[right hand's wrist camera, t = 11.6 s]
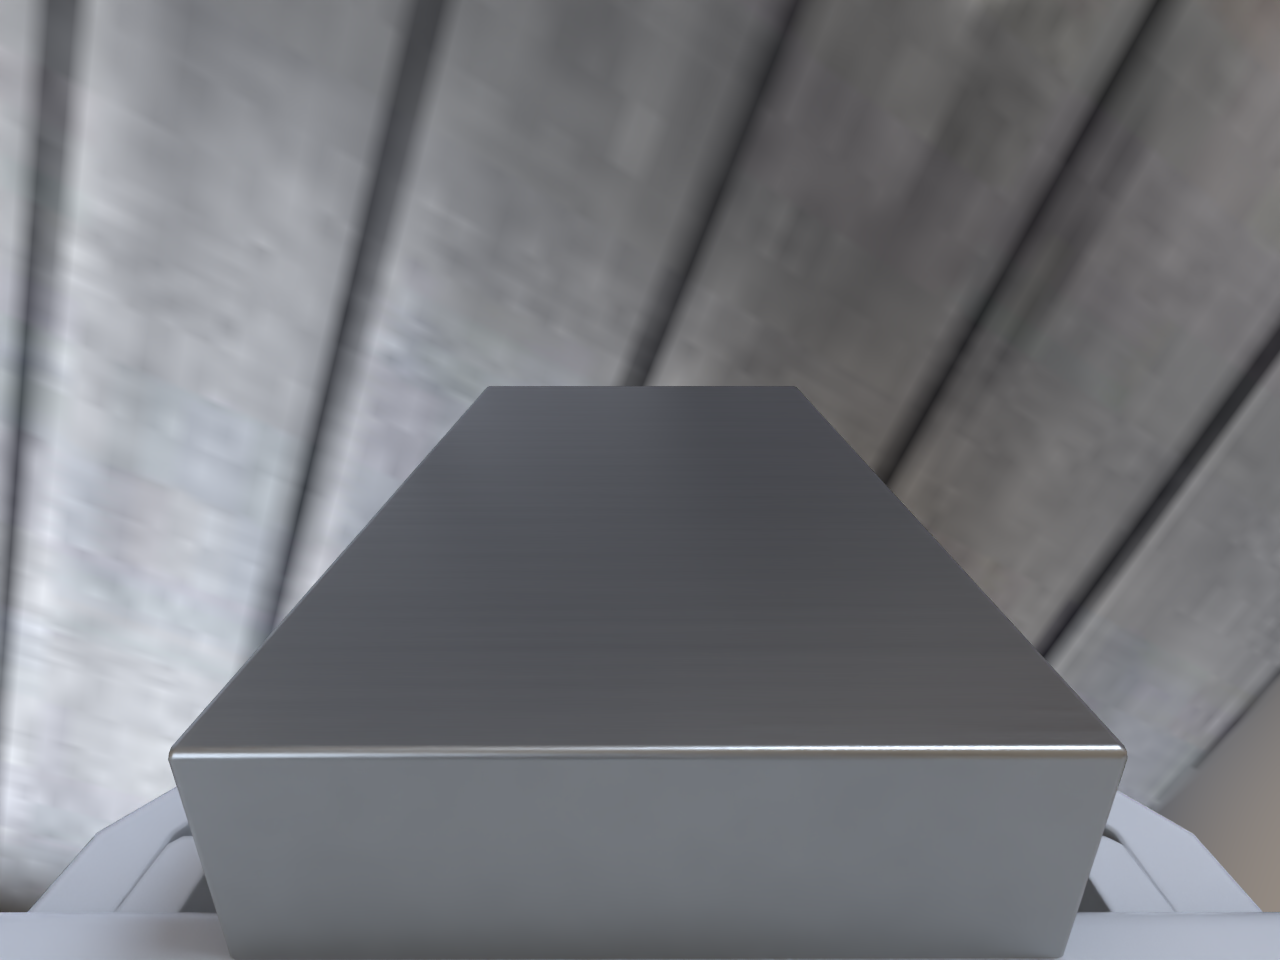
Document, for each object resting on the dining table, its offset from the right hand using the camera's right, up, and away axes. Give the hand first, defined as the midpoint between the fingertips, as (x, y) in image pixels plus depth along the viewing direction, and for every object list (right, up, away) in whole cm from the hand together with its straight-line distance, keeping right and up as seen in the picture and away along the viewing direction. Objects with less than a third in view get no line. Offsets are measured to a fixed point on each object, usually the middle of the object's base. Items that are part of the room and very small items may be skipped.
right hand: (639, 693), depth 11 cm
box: (0, -5, +7) cm, 8 cm away
